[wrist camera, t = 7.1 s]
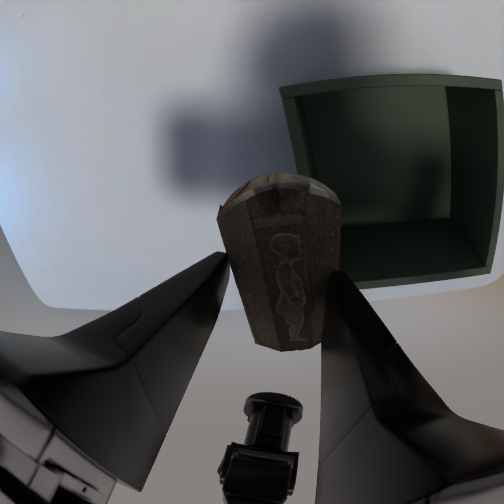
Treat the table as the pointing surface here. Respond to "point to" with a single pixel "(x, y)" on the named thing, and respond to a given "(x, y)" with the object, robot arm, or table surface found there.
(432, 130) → the bin
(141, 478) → the robot arm
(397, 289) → the table surface
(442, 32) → the table surface
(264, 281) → the block
